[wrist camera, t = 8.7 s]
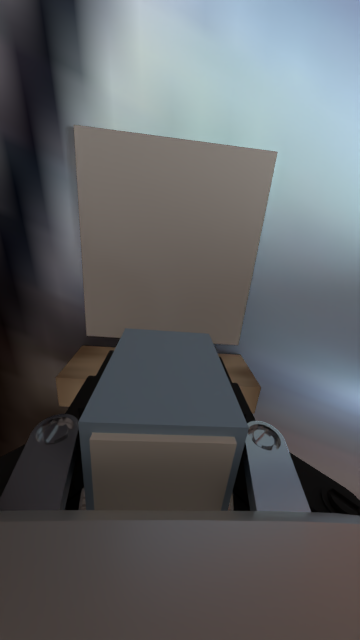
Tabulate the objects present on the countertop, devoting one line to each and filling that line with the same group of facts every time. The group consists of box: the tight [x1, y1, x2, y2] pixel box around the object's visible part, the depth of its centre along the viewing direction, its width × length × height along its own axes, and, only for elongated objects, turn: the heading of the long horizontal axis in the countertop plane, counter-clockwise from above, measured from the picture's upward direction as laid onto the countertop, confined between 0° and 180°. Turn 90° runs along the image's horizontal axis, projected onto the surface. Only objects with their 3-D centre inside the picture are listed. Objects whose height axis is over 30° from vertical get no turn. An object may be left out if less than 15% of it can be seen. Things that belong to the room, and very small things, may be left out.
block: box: [78, 328, 249, 511], centre depth 8 cm, size 4×5×6 cm
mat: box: [74, 125, 277, 345], centre depth 14 cm, size 11×12×1 cm
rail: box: [56, 346, 261, 413], centre depth 15 cm, size 12×2×4 cm, turn 85°
